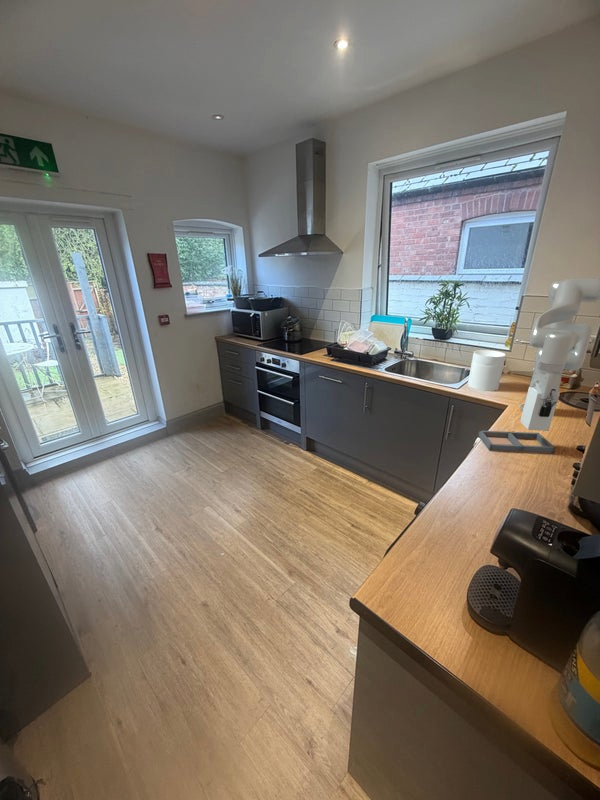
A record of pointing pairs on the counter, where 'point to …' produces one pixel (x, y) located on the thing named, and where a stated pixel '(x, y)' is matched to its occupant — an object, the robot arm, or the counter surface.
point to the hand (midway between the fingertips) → (538, 411)
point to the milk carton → (536, 410)
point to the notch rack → (514, 442)
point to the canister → (486, 370)
